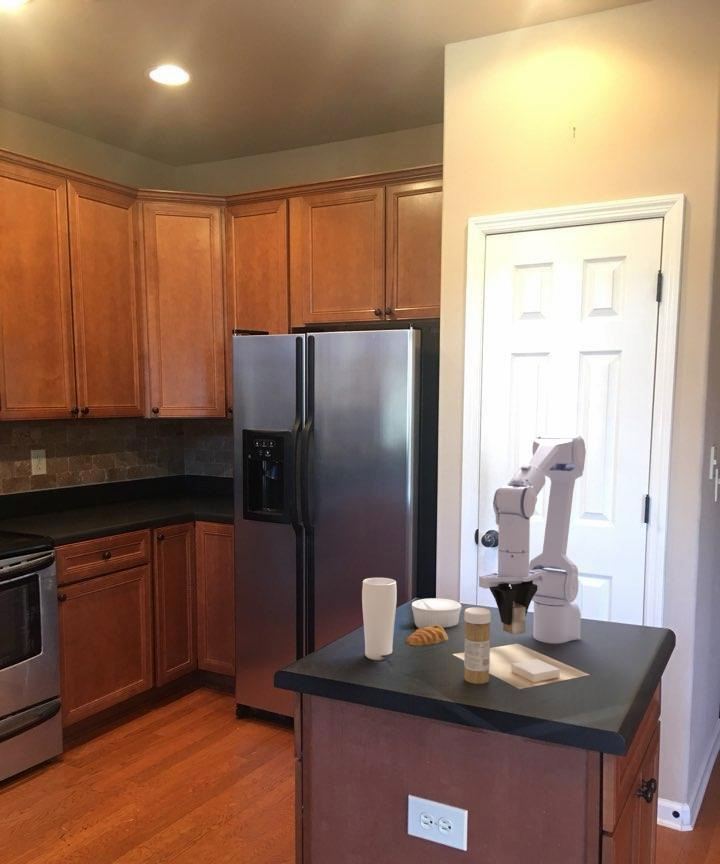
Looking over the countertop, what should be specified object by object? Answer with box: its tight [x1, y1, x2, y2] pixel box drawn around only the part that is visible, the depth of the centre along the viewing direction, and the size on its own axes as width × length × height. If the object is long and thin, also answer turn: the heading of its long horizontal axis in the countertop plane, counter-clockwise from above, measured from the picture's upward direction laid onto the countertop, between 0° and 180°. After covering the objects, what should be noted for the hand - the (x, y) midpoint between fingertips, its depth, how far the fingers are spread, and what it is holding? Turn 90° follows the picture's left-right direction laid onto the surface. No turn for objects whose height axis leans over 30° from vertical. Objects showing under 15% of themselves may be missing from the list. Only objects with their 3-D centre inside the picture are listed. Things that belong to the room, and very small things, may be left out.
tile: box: [511, 659, 560, 682], centre depth 127 cm, size 6×2×6 cm
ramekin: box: [411, 597, 462, 629], centre depth 161 cm, size 11×11×5 cm
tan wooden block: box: [502, 602, 527, 636], centre depth 132 cm, size 3×3×5 cm
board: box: [452, 643, 590, 690], centre depth 133 cm, size 16×20×1 cm
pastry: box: [405, 625, 449, 647], centre depth 147 cm, size 9×7×4 cm
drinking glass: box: [361, 577, 398, 661], centre depth 140 cm, size 7×7×15 cm
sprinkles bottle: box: [463, 607, 492, 685], centre depth 125 cm, size 5×5×13 cm
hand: (512, 622), depth 133 cm, fingers closed on tan wooden block, 3 cm apart
